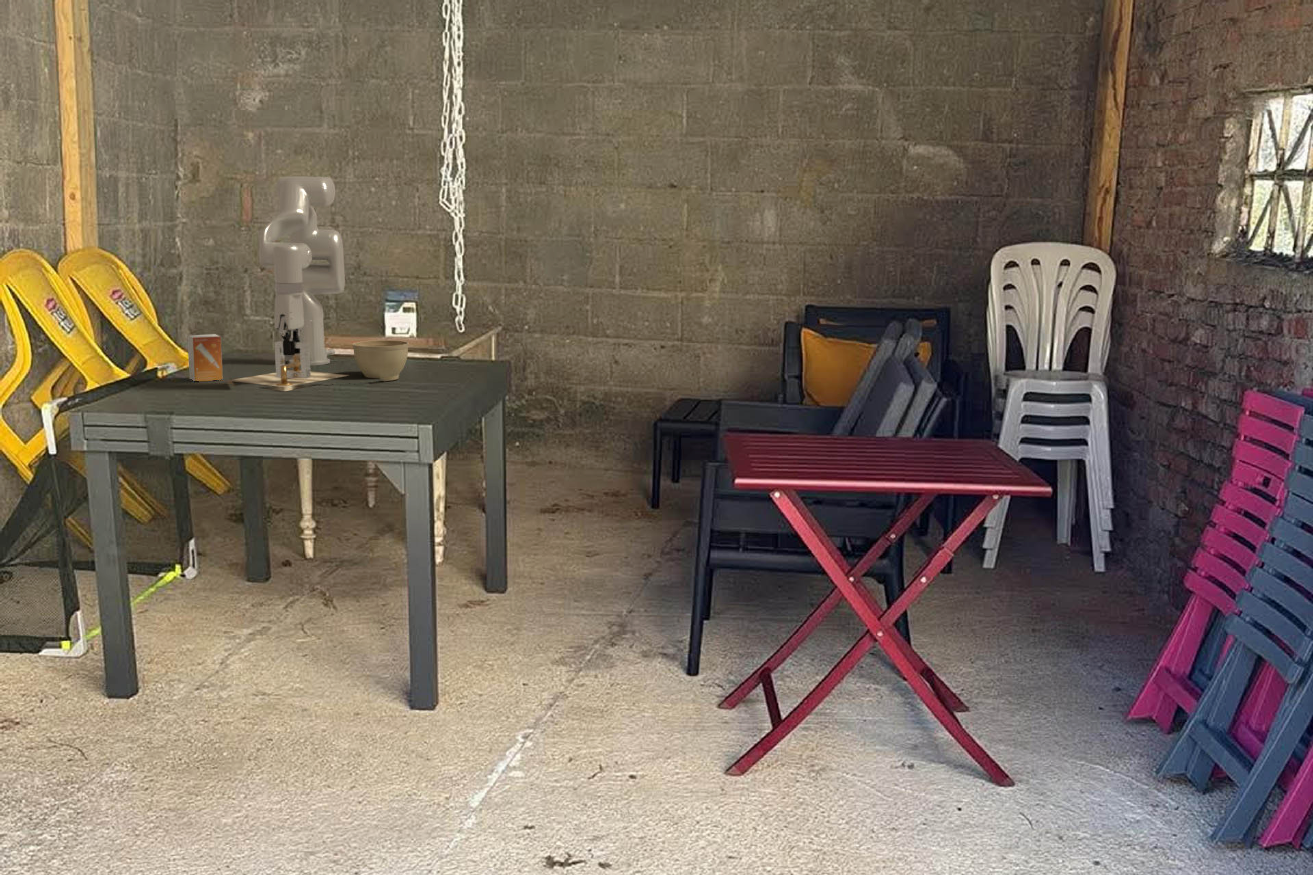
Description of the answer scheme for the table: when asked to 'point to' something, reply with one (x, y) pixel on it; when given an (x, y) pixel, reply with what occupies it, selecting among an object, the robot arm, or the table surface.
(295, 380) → the base board
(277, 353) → the white square frame
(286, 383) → the brass faucet
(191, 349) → the small box
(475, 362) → the table surface
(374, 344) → the planter bowl
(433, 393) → the table surface
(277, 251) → the robot arm
